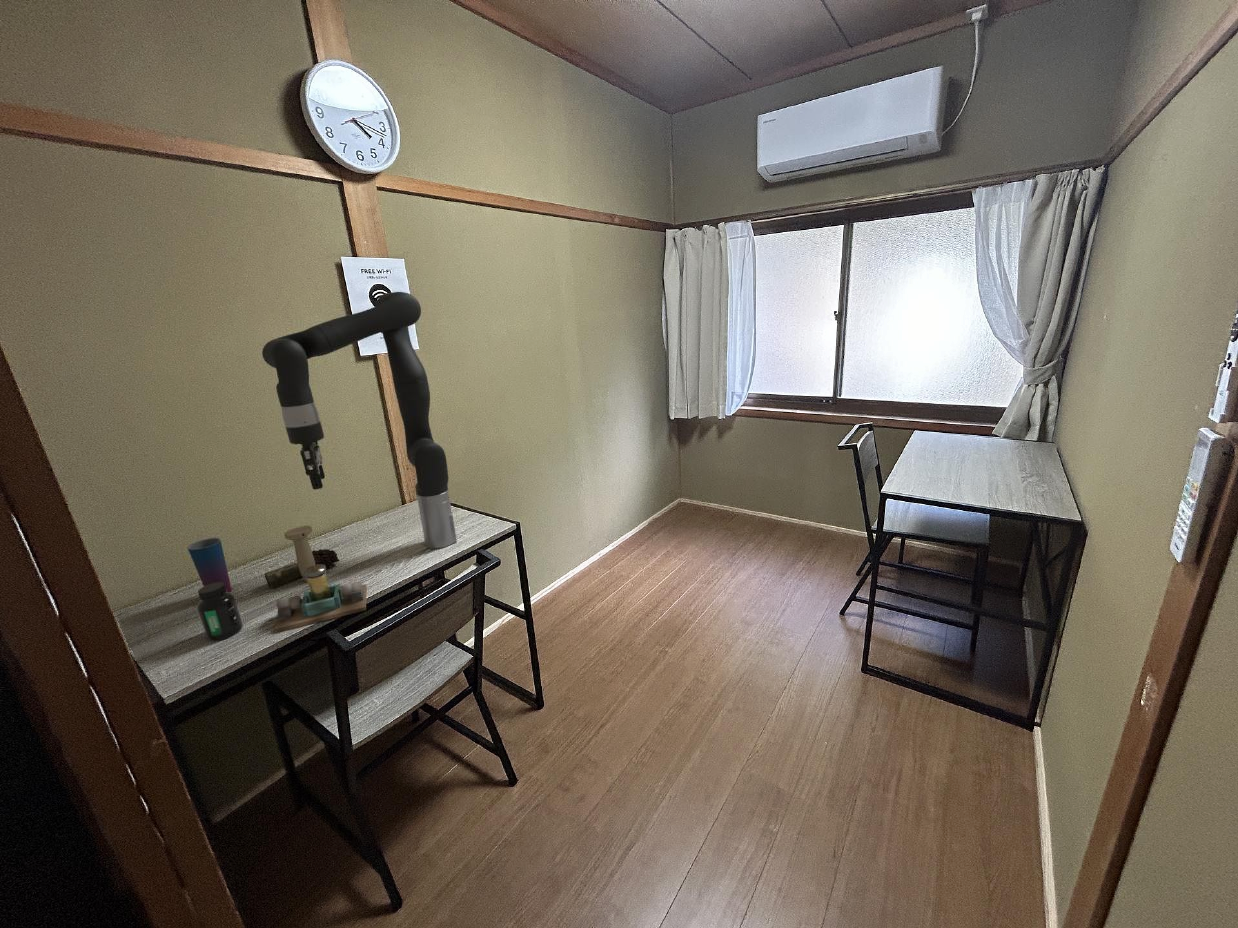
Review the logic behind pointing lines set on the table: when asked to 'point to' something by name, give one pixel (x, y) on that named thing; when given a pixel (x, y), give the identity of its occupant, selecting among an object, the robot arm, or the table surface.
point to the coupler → (318, 582)
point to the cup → (210, 561)
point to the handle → (301, 547)
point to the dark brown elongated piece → (293, 571)
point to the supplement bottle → (218, 612)
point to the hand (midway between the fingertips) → (319, 483)
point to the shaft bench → (321, 606)
